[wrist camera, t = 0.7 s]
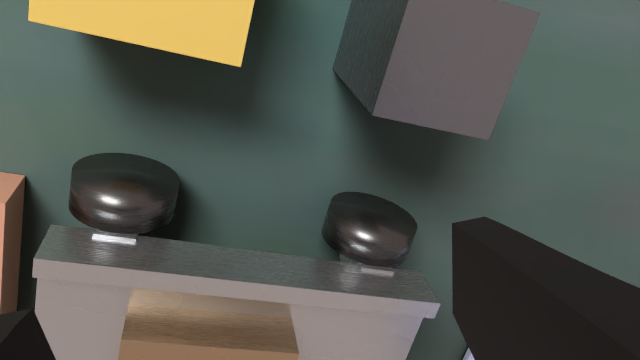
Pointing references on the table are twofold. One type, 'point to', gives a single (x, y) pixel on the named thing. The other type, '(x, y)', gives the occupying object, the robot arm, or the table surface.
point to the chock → (157, 23)
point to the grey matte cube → (434, 60)
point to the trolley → (220, 280)
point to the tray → (10, 238)
